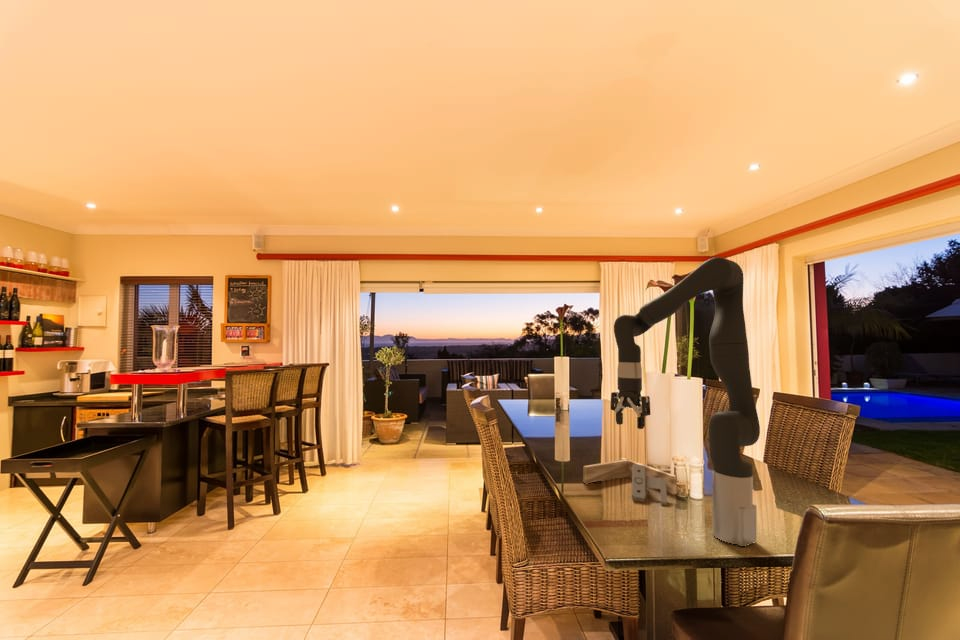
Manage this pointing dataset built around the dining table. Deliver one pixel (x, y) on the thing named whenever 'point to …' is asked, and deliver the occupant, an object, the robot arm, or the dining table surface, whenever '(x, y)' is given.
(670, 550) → the dining table surface
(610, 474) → the wooden corner joint
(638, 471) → the bracket
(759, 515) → the dining table surface
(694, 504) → the dining table surface
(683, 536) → the dining table surface
